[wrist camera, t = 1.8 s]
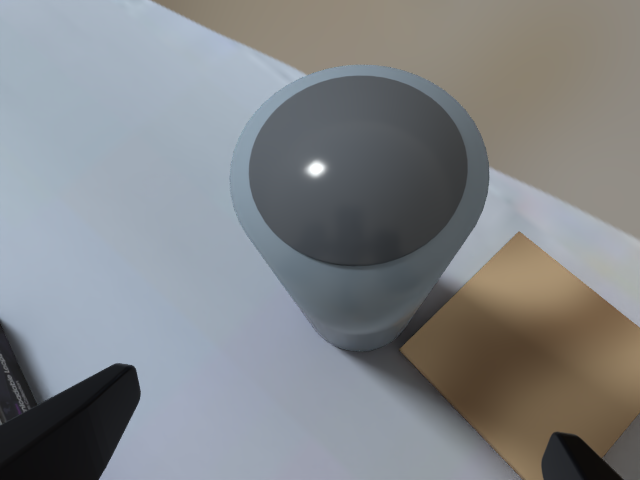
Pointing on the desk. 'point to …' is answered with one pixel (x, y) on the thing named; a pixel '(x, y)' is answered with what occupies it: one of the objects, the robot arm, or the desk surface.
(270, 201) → the tumbler
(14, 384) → the box
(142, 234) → the desk surface
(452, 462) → the desk surface
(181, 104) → the desk surface
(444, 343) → the coaster
